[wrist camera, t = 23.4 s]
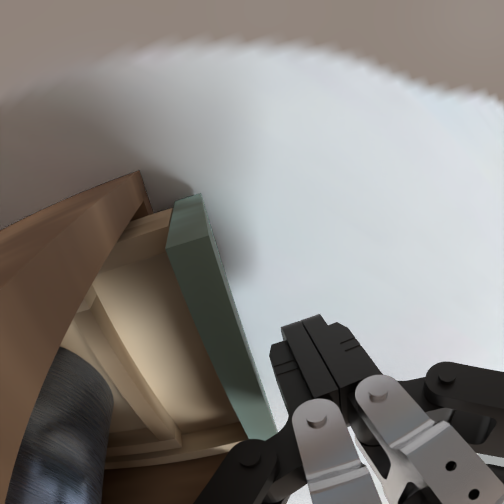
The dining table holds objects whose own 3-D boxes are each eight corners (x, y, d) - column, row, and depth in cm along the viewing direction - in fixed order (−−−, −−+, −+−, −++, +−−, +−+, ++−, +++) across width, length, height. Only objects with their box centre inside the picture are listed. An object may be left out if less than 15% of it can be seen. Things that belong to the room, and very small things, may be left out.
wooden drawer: (29, 432, 14) (13, 488, 10) (-66, 300, 10) (-111, 348, 5) (265, 392, 16) (290, 467, 11) (200, 193, 11) (208, 235, 7)
